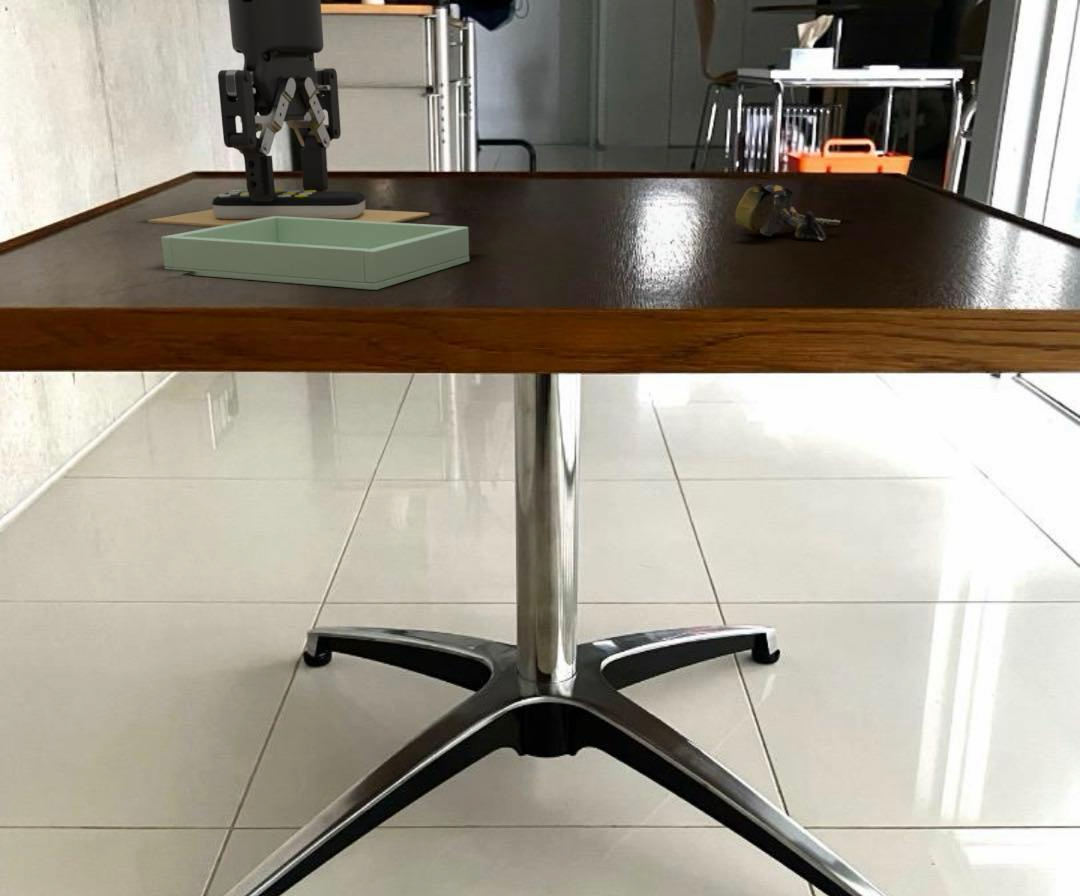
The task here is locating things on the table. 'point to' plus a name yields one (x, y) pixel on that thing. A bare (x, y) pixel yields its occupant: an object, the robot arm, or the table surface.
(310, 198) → the remote control
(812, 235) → the regulator
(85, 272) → the table surface
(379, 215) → the mat
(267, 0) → the robot arm
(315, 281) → the tray
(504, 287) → the table surface
